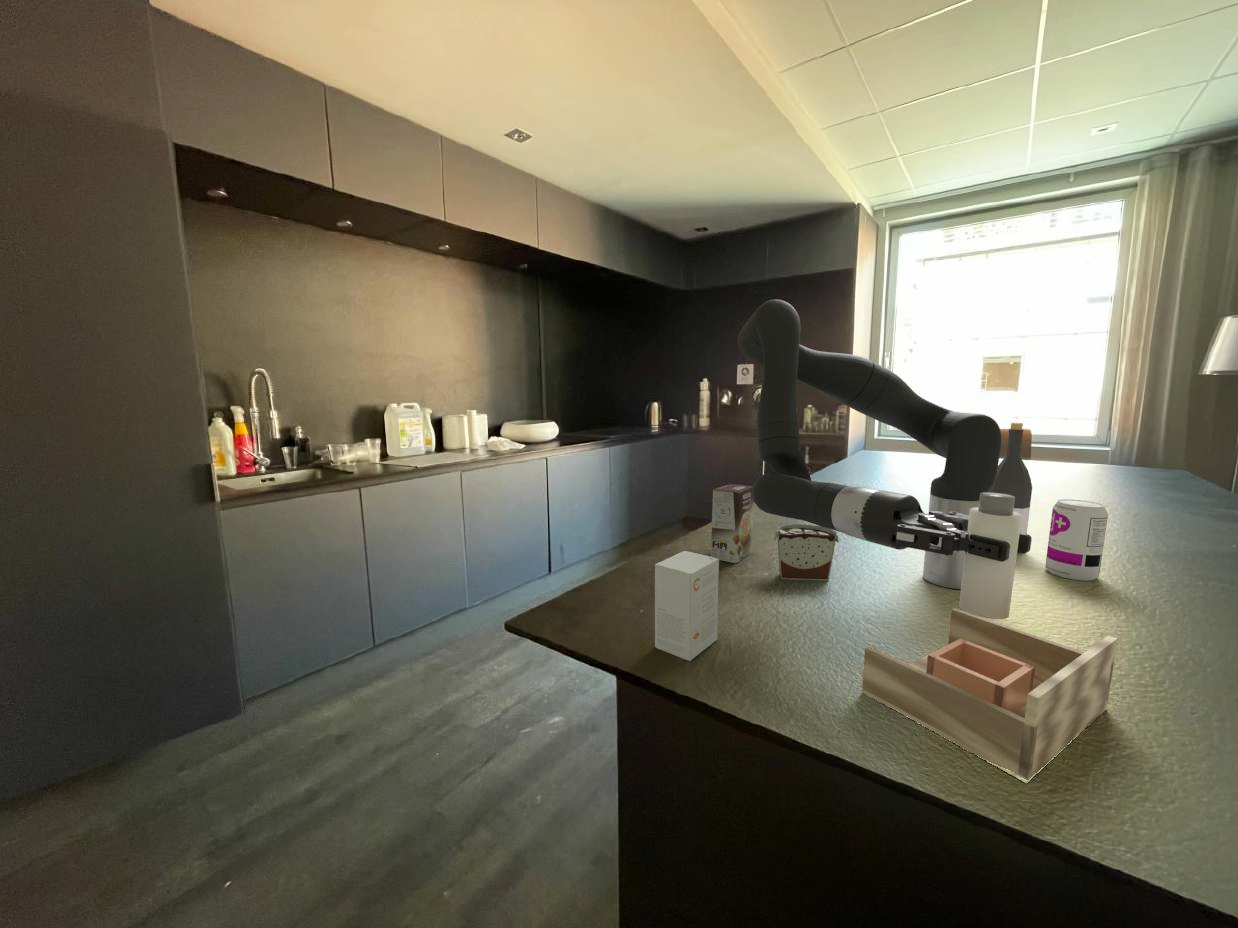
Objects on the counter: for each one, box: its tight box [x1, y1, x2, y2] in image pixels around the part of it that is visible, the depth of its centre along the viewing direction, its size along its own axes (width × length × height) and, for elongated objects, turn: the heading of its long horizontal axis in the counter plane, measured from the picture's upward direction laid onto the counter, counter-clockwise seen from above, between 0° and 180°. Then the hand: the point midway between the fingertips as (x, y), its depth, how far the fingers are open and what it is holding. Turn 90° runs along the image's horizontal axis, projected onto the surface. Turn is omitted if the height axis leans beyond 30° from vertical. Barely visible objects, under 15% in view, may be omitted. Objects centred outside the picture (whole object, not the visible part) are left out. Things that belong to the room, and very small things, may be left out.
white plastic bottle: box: [958, 493, 1022, 620], centre depth 58 cm, size 5×5×14 cm
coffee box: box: [710, 483, 754, 564], centre depth 112 cm, size 9×6×16 cm
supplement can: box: [1044, 498, 1109, 582], centre depth 100 cm, size 8×8×15 cm
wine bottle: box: [989, 422, 1033, 555], centre depth 115 cm, size 8×8×30 cm
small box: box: [654, 550, 720, 662], centre depth 73 cm, size 8×6×13 cm
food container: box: [773, 523, 840, 582], centre depth 101 cm, size 12×6×10 cm, turn 84°
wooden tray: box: [861, 607, 1118, 780], centre depth 59 cm, size 22×17×9 cm
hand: (1018, 548), depth 55 cm, fingers closed on white plastic bottle, 4 cm apart
